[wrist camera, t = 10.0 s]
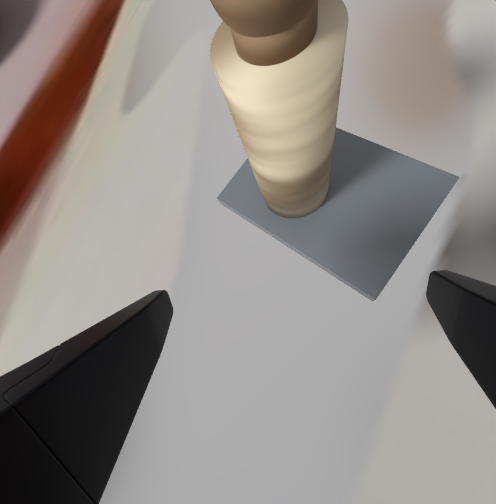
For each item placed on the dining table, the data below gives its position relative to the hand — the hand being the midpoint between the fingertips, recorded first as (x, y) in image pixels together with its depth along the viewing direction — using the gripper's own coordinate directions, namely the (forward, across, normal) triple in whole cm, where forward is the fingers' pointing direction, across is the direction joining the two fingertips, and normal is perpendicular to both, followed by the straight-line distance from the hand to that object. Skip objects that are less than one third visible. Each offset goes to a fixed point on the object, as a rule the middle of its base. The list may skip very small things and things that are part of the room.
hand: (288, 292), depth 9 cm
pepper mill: (+12, -1, -1) cm, 13 cm away
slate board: (+13, -3, 0) cm, 13 cm away
